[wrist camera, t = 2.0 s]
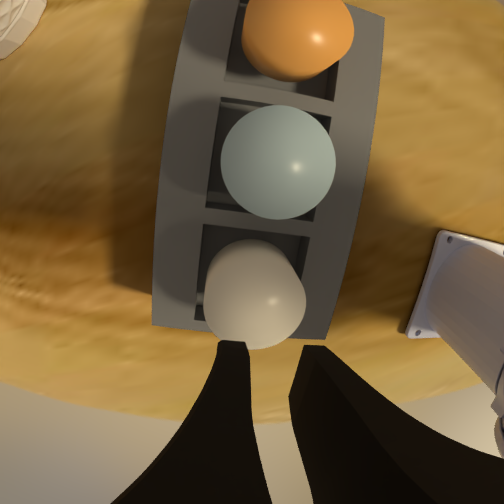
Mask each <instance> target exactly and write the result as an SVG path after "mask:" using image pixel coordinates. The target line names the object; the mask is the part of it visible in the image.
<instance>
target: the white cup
mask: <svg viewBox="0 0 504 504" xmlns="http://www.w3.org/2000/svg"><path fill="white" fill-rule="evenodd" d="M46 3H47V0H0V60H1V59H4V58H6V57H7V56H8V55H10V54H11V53H12V52H13V51H15V50H16V49H17V48H18V47H20V46H21V45H22V44H23V42H24V41H25V40H26V39H27V37H28V36H29V35H30V33H31V32H32V31H33V30H34V28H35V27H36V26H37V24H38V22H39V19H40V17H41V15H42V13H43V11H44V9H45V7H46Z"/></svg>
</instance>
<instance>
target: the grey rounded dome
mask: <svg viewBox="0 0 504 504" xmlns="http://www.w3.org/2000/svg"><path fill="white" fill-rule="evenodd" d="M335 167H336V158H335V151H334V147H333V144H332V141H331V139H330V137H329V135H328V133H327V132H326V130H325V129H324V127H323V126H322V125H321V124H320V123H319V122H318V121H317V120H316V119H315V118H314V117H312V116H311V115H309V114H308V113H306V112H304V111H302V110H300V109H297V108H294V107H290V106H284V105H272V106H265V107H262V108H258V109H256V110H254V111H251V112H250V113H248V114H246V115H245V116H244V117H242V118H241V119H240V120H239V121H238V122H237V123H236V124H235V125H234V126H233V127H232V129H231V130H230V132H229V133H228V135H227V137H226V139H225V142H224V144H223V148H222V152H221V172H222V177H223V180H224V183H225V185H226V187H227V189H228V191H229V193H230V194H231V196H232V197H233V198H234V199H235V200H236V202H237V203H238V204H240V205H241V206H242V207H243V208H244V209H246V210H247V211H249V212H251V213H253V214H255V215H257V216H260V217H263V218H267V219H276V220H281V219H289V218H294V217H297V216H300V215H302V214H304V213H306V212H308V211H309V210H311V209H312V208H314V207H315V206H316V205H317V204H318V203H319V202H320V201H321V200H322V199H323V198H324V196H325V195H326V194H327V192H328V190H329V188H330V186H331V184H332V181H333V178H334V174H335Z"/></svg>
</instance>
